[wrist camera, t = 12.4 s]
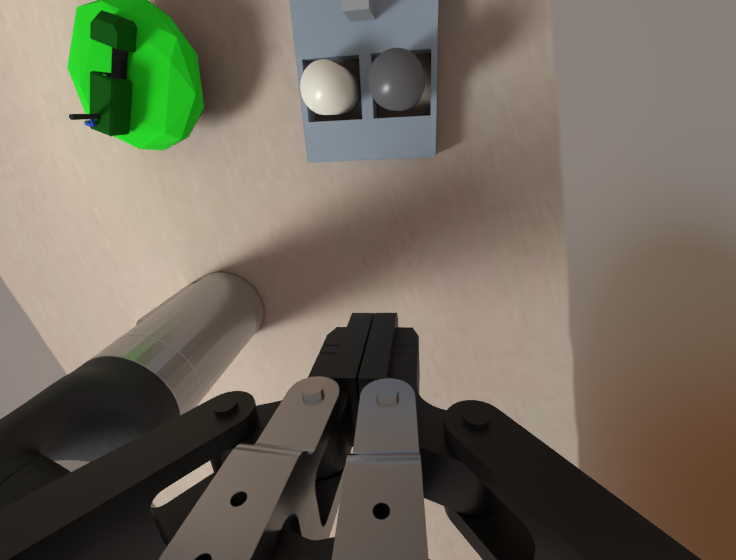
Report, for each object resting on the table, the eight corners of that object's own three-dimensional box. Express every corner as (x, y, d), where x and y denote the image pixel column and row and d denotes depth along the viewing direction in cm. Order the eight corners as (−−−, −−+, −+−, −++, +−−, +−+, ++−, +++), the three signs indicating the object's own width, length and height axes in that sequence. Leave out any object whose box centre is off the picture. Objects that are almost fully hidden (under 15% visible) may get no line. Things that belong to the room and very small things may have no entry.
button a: (319, 115, 36) (303, 116, 31) (315, 68, 35) (297, 61, 30) (360, 113, 36) (350, 113, 31) (358, 65, 34) (346, 57, 29)
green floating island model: (215, 160, 40) (147, 178, 30) (110, 119, 40) (6, 124, 30) (236, 34, 35) (160, 5, 25) (115, -14, 34) (-10, -62, 25)
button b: (378, 112, 33) (369, 112, 28) (376, 59, 31) (366, 50, 27) (424, 109, 32) (423, 108, 28) (425, 55, 31) (423, 45, 26)
